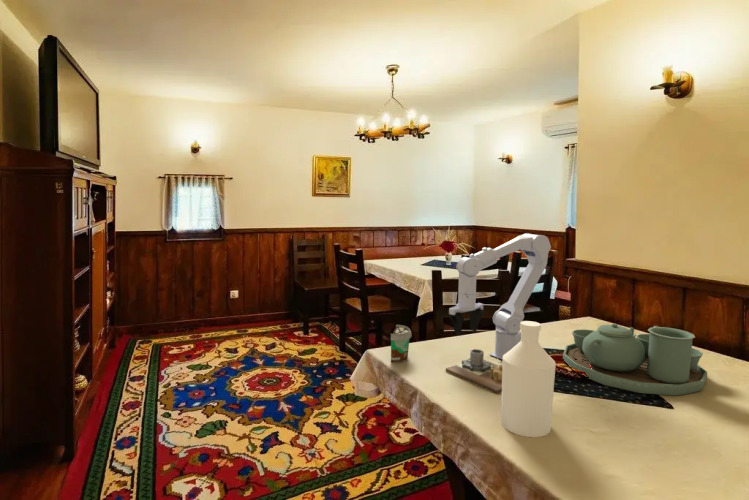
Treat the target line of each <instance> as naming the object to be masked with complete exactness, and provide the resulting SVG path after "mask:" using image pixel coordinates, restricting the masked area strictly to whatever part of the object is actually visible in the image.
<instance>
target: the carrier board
mask: <svg viewBox="0 0 749 500" xmlns="http://www.w3.org/2000/svg"><path fill="white" fill-rule="evenodd" d="M483 360H484V361H486V362H490V363H491V366H492V368H490V370H486V371H485V372H481V371H473V372H472V371H470V370H469V369H466V368H462V363H459V364H456V365H451V366H449V367H445V372H447V373H449V374H452V375H453V376H455V377H458V378H461V379H462V380H465V381H467V382H470V383H472V384H474V385H476V386H477V387H480V388H482V389H485V390H487V391H490V392H491V393H493V394H496V395H497V394H498V395H499V394H502V365H503V364H496V363H494V362H491V361H489V360H485V359H483Z"/></svg>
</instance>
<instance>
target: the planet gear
mask: <svg viewBox="0 0 749 500" xmlns="http://www.w3.org/2000/svg"><path fill="white" fill-rule="evenodd" d="M484 354H485V353H484V350H482V349H480V348H479V349H475V348H473V349H470V352H469V355H470V356H469V358H468V359H465V360H464V359H462V360H461V364H462V368H466V369H469V370H470V371H472V372H473V371H481V372H485V371H486V370H490V368H492V366H491V363H492V362H491V361H489V362H486V361H487V360H486V361H484V360H485V359H484V357H485V356H484ZM490 362H491V363H490Z"/></svg>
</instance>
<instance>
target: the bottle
mask: <svg viewBox="0 0 749 500" xmlns="http://www.w3.org/2000/svg"><path fill="white" fill-rule="evenodd" d="M541 330H542V327H541V323H539V322H537V321H531V320H523V321H522V322H520V332H521V341H520V342H519V343H518V344H517V345H516V346H514V347H513V348H512V349H511V350H510V351H508V352H507V353H506V354H504V355H503V360H502V364H501V365H502V392H501V411H500V413H501V415H500V424H501V425H502V426H503V428H505V430H507V431H509V432H511V433H513V434H514V435H515V434H516V435H518V436H522V437H527V438H528V437H529V438H540V437H545V436H547V435H548V434H549V433H550V432H551V429H552V428H551V427H552V414H553V402H554V388H555V378H556V377H555V376H556V375H555V374H556V366H557V365H556V361H555V360H554V359H553V358H552V357H551V356H550V355H549V354H548V353H547V351H546V350H545V349H544V348H543V347H542V345H541V344H540V343H539V336H540V335H539V334H540V331H541Z"/></svg>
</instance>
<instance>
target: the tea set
mask: <svg viewBox="0 0 749 500" xmlns="http://www.w3.org/2000/svg"><path fill="white" fill-rule="evenodd" d="M647 331H648V332H649V333H639V334H637V335H636V333H634V332H635V328H634V327H632V326H630V327H629V328H627V327H625V326H623V325H622V326H621V325H618V324H617V323H611V324H602V325H600V326H597V329H596V330H593V329H585V328H584V329H583V328H582V329H574V330H572V332H571V334H572V337H573V342H574V343H569V344H568V345H565V348H564V351H563V354H562V360H563V359H564V361H565V362H566V363H567V364H568V365H570V366H571V367H573V368H575V369H577V370H580V371H583V372H585V373H586V374H587V375H588V376H589V378H588V379H589V380H591V381H594V382H596V383H598V384H600V385H603V386H608V387H612V388H617V389H620V390H625V391H629V392H633V393H639V394H650V395H666V396H681V395H686V394H691V393H696V392H701V391H702V390H703V388H704V387H705V384H706V381H707V379H708V371H706V369H704V368H703V367H702V366H700V365H699V362H700V359H701V358H702V357H703V355H704V353H703V352H702V351H700V350H698V349H696V348H693V340H694V338H696V336H695V335H694V333H691V332H690V331H686V330H682V329H679V328H678V329H677V328H672V327H666V326H665V327H664V326H663V327H662V326H655V325H653V326H652V327H649V328H648V329H647ZM574 358H576V359H577V360H575V359H574ZM564 361H563V362H564ZM582 361H583V362H582ZM588 364H590V365H591V368H592V369H591V368H590V365H588Z"/></svg>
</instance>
